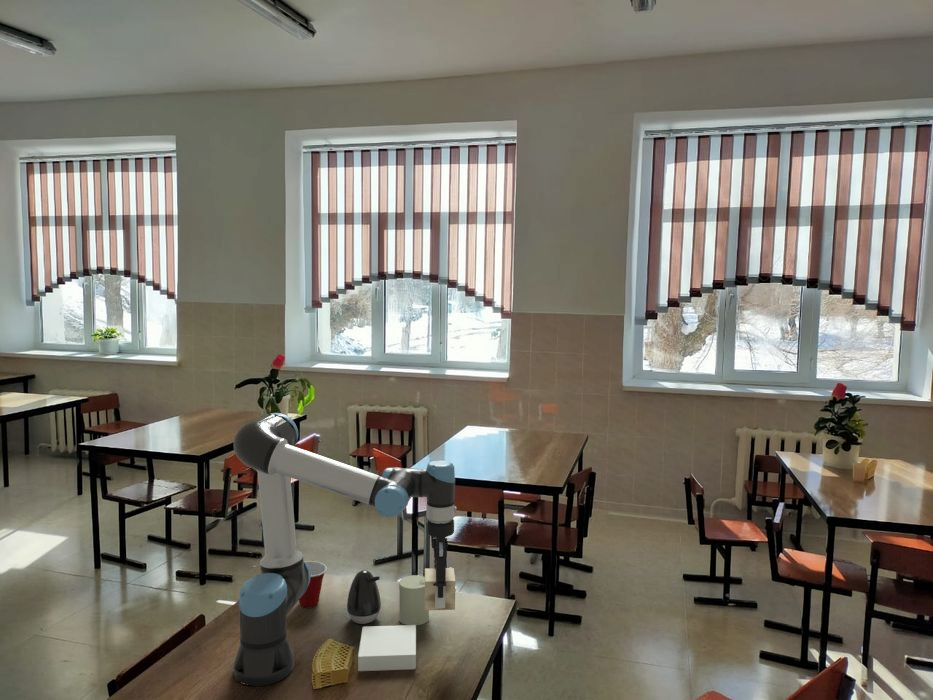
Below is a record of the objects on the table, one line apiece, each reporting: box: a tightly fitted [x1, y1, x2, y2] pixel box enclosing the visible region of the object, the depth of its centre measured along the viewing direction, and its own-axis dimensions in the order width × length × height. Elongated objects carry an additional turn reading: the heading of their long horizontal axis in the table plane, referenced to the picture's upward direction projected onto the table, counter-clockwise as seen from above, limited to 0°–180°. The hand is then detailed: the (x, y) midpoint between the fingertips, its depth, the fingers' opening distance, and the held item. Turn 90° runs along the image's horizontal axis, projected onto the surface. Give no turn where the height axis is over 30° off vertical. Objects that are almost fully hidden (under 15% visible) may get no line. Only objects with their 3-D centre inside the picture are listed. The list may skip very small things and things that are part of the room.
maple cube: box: [424, 567, 456, 611], centre depth 173 cm, size 8×8×8 cm
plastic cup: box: [298, 560, 327, 609], centre depth 201 cm, size 11×11×12 cm
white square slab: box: [357, 624, 417, 672], centre depth 174 cm, size 15×15×4 cm
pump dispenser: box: [346, 569, 382, 625], centre depth 191 cm, size 10×10×15 cm
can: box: [398, 574, 430, 627], centre depth 193 cm, size 9×9×12 cm
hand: (439, 599), depth 174 cm, fingers closed on maple cube, 8 cm apart
